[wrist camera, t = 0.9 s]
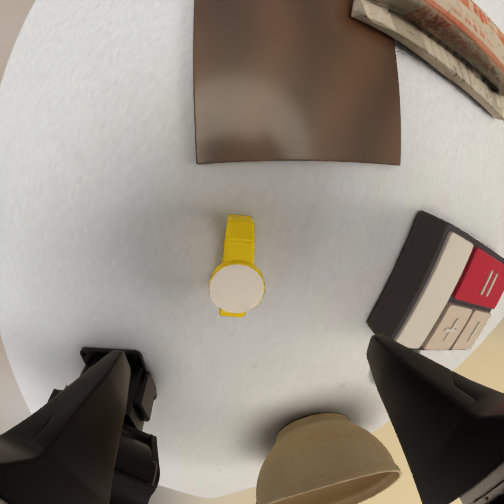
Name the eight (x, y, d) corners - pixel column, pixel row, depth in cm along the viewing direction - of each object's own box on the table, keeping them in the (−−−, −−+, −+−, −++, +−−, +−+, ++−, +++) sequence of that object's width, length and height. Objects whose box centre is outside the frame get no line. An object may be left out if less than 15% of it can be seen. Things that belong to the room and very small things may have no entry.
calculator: (470, 354, 22) (387, 355, 19) (450, 333, 26) (364, 324, 23) (517, 267, 19) (455, 225, 15) (492, 252, 22) (419, 208, 19)
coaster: (197, 163, 17) (196, 164, 16) (196, -17, 12) (195, -22, 11) (394, 164, 18) (400, 165, 17) (381, 2, 13) (385, -1, 12)
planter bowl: (274, 389, 25) (293, 486, 15) (393, 392, 28) (429, 457, 18) (233, 456, 30) (237, 523, 20) (333, 455, 33) (350, 510, 23)
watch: (248, 289, 20) (255, 341, 15) (210, 286, 20) (205, 338, 15) (259, 209, 18) (274, 238, 13) (217, 205, 18) (213, 232, 12)
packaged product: (381, -8, 8) (383, -79, 5) (345, 19, 13) (356, -54, 9) (530, 125, 12) (525, 44, 9) (494, 121, 16) (494, 47, 13)
